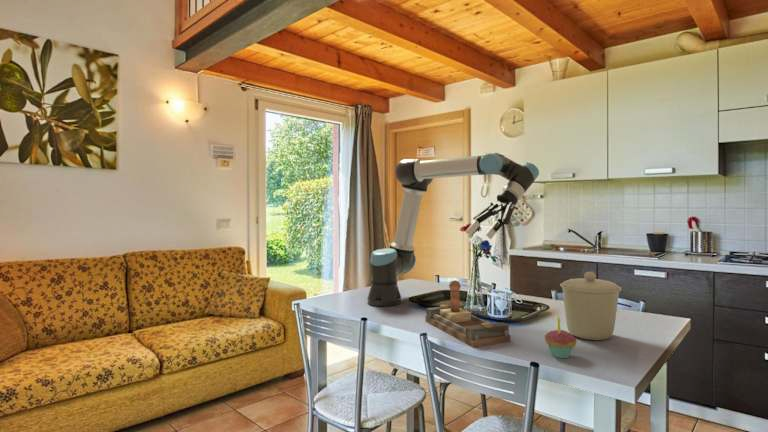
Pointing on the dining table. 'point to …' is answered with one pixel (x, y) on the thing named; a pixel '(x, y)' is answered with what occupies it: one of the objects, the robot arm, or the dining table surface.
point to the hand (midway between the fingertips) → (477, 235)
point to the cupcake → (560, 342)
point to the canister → (590, 306)
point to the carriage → (455, 306)
